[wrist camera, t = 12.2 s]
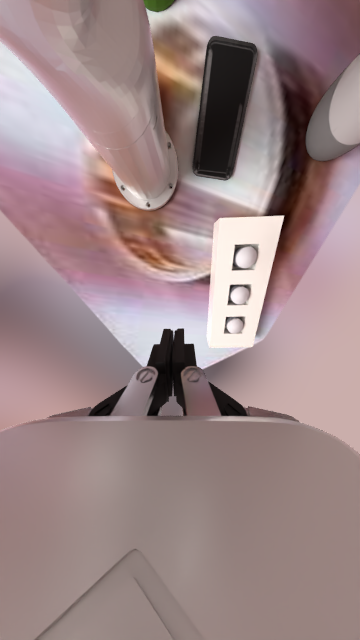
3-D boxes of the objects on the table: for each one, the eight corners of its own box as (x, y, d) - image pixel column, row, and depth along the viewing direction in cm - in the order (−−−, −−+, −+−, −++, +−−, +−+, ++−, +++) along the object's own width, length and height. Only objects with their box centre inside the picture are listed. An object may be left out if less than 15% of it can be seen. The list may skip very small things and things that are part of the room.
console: (214, 223, 30) (219, 218, 26) (268, 221, 30) (284, 215, 25) (206, 338, 43) (209, 347, 38) (245, 337, 43) (252, 347, 38)
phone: (192, 172, 26) (208, 33, 20) (191, 176, 27) (207, 44, 21) (231, 179, 27) (260, 44, 20) (230, 182, 28) (256, 54, 21)
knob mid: (227, 283, 34) (232, 287, 30) (243, 283, 34) (251, 287, 30) (225, 299, 36) (230, 304, 32) (240, 298, 36) (247, 304, 32)
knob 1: (223, 313, 38) (228, 319, 34) (238, 312, 38) (244, 319, 34) (222, 325, 39) (226, 333, 36) (236, 325, 39) (242, 333, 35)
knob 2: (231, 248, 31) (238, 247, 27) (249, 247, 31) (258, 246, 27) (229, 267, 33) (235, 268, 29) (246, 266, 33) (254, 267, 29)
